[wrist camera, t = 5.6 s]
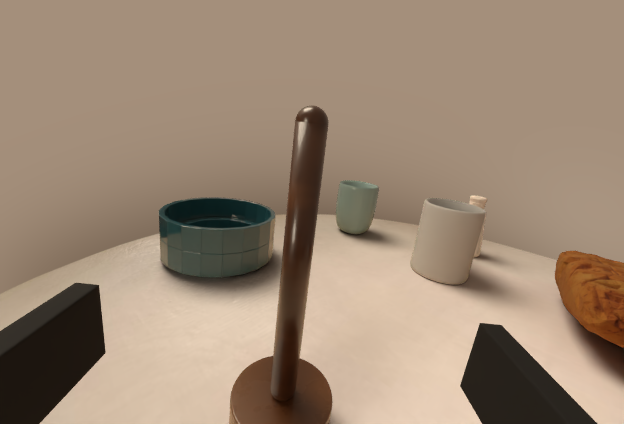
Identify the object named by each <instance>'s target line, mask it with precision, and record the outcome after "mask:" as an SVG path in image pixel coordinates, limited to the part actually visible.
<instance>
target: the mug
mask: <svg viewBox="0 0 624 424" xmlns="http://www.w3.org/2000/svg"><path fill="white" fill-rule="evenodd" d="M485 215H486V211H485V210H484V209H482V208H480V207H477V206H474V205H471V204H467V203H463V202H459V201H454V200H447V199H439V198H438V199H437V198H429V199H426V200H425V202H424V206H423V211H422V215H421V219H420V224H419V228H418V232H417V237H416V241H415V246H414V250H413V253H412V257H411V262H410V264H411V267H412V269H413V270H414V271H415V272H416V273H418V274H420V275H421V276H423V277H425V278H427V279H430V280H433V281H436V282H439V283H444V284H452V285H457V284H462V283H464V282H466V280H467V279H468V276H469V272H470V268H471V264H472V260H473V257H474V253H475V250H476V246H477V243H478V239H479V236H480V232H481V229H482V225H483V222H484V219H485Z"/></svg>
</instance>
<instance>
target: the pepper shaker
mask: <svg viewBox="0 0 624 424" xmlns="http://www.w3.org/2000/svg"><path fill="white" fill-rule="evenodd" d="M486 202H487V199H486V198H484V197H481V196H471V197H470V202H469V204H471V205H474V206H477V207H480V208H482V209H484V207H485V203H486ZM485 220H486V215H485V219H484V222H483V225H482V229H481V232H480V236H479V239H478V243H477V246H476V250H475V253H474V258H476V257H477V256H479V255H480V251H481V245H482V238H483V232H484V226H485Z"/></svg>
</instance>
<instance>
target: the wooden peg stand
mask: <svg viewBox="0 0 624 424" xmlns="http://www.w3.org/2000/svg"><path fill="white" fill-rule="evenodd" d="M327 131H328V118H327V115H326V114H325V112H324V111H323V110H322V109H320V108H319V107H317V106H307V107H305V108H303V109H302V110H301V111H300V112H299V113H298V114H297V117H296V120H295V129H294V140H293V151H292V161H291V172H290V183H289V193H288V204H287V215H286V226H285V236H284V247H283V258H282V268H281V279H280V290H279V301H278V311H277V322H276V333H275V343H274V354H273V356H271V357H266V358H263V359H261V360H258V361H256V362H254V363H253V364H251V365H250V366H248V367H247V368H246V369H245V370H244V371H243V372H242V373H241V374H240V375H239V377H238V378H237V380H236V382H235V384H234V386H233V389H232V392H231V398H230V419H229V424H329V421H330V416H331V410H332V394H331V390H330V387H329V384H328V382H327V380H326V378H325V377H324V375H323V374H322V373H321V372H320V371H319V370H318V369H317V368H316V367H315V366H313V365H312V364H310V363H309V362H307V361H305V360H302V359H300V350H301V342H302V334H303V326H304V318H305V309H306V301H307V293H308V285H309V277H310V269H311V261H312V253H313V245H314V236H315V228H316V220H317V212H318V204H319V196H320V188H321V179H322V171H323V163H324V155H325V147H326V139H327Z"/></svg>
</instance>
